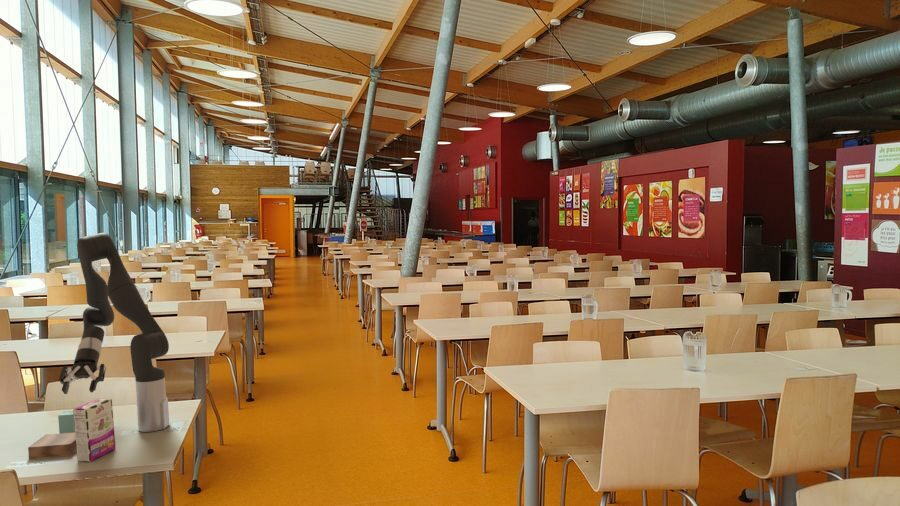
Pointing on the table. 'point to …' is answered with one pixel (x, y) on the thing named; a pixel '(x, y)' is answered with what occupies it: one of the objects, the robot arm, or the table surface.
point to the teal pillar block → (66, 422)
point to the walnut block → (53, 446)
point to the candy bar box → (94, 429)
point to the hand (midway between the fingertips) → (78, 392)
